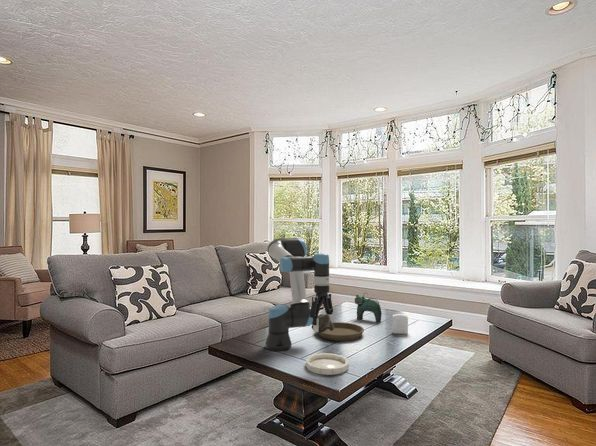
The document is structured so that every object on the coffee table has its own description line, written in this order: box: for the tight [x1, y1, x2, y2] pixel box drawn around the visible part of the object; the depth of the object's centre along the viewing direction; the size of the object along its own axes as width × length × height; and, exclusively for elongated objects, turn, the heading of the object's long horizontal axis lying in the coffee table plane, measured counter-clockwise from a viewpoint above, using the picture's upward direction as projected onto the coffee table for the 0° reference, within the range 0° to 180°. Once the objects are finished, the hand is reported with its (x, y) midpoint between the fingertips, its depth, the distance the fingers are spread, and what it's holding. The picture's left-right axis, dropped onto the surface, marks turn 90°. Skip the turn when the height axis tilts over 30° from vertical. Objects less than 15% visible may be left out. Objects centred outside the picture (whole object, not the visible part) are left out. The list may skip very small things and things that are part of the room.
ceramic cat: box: [354, 292, 382, 323], centre depth 275 cm, size 20×6×20 cm, turn 55°
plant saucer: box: [317, 321, 365, 342], centre depth 239 cm, size 31×31×5 cm
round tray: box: [305, 352, 350, 376], centre depth 186 cm, size 21×21×3 cm
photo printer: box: [391, 313, 409, 335], centre depth 242 cm, size 10×4×12 cm, turn 84°
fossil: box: [311, 313, 335, 334], centre depth 187 cm, size 11×9×10 cm
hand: (321, 329), depth 187 cm, fingers closed on fossil, 10 cm apart
